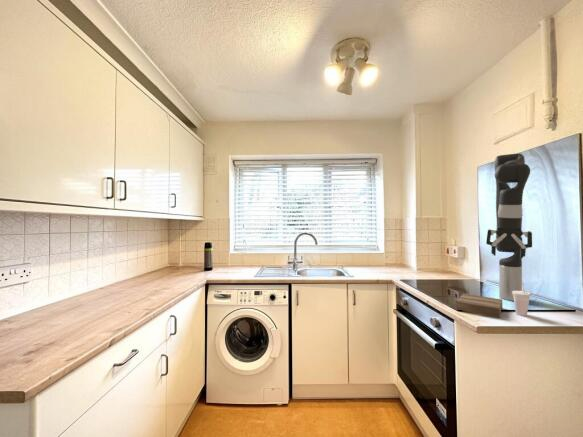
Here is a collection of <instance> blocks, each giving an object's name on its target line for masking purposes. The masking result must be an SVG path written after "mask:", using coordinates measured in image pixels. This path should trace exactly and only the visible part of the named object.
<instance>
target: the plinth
mask: <svg viewBox="0 0 583 437" xmlns="http://www.w3.org/2000/svg"><path fill="white" fill-rule="evenodd" d="M455 305H456V307H455V308H456V309H457V310H456V311H459V310H462V311H461V312H465V313H471V314H475V315H476V314H477V315H482V316H486V317H491V318H497V319H499V318H500V316H501V314H502V311H503V299H502V298H495V297H487V296H481V295H474V294H469V293H462V294H461V295H460V296H459V297H458V299H457V300H456V304H455ZM501 310H502V311H501Z"/></svg>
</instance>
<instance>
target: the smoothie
mask: <svg viewBox="0 0 583 437" xmlns="http://www.w3.org/2000/svg"><path fill="white" fill-rule="evenodd" d="M524 285H525V284H524V282H522V291H512V294H513V298H514V301H513V303H514V304H513V305H514V311H515V314H516V315H517V316H521V317H527V315H528V310H529V305H530V298H531V296H532V295H531V293H530V292H527V291H524Z"/></svg>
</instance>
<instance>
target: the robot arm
mask: <svg viewBox="0 0 583 437" xmlns="http://www.w3.org/2000/svg"><path fill="white" fill-rule="evenodd" d="M525 162H526V160H525V156H524V155H523V154H522V153H510V154H508V153H507V154H501V155H497V156H496V157H495V159H494V179H495V188H496V189H495V190H496V192H495V193H496V194H495V213H496V215H495V216H496V229H495V230H493V229H490V228H489V229H487V234H486V242H485V243H486V245H489V246H491V255H492V256H496V253H497V252H500V253H512V255H511V256H508V257H504V258H500V259H499V264H498V266H499V267H498V270H499V274H498V275H499V276H498V277H499V278H498V279H499V283H498V284H499V290H498V291H499V293H498V294H499V299H502V300H506V301H512V302H514V298H513V294H512V291H522V283H523V262H522V261H523V260H522V259H523V258H525V257H526V252H527V249H529V248H533V232H532V231H530V230H528V231H523V230H522V225H523V222H522V221H523V215H524V214H523V195H524V189H525V187H526V184H527V182H528V179H529V177H530V175H531V168H530V166H529V165H528V164H526V163H525ZM509 183H510V184H512V183H513V184H515V183H516V185H515V186H514V187H510V185H509ZM494 234H495V235H496V236H495V239H494V240H493V241H491V236H494ZM523 235H524V237H525V238H527V243H526V244H525V243H524V242H523V237H522V236H523Z"/></svg>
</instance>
